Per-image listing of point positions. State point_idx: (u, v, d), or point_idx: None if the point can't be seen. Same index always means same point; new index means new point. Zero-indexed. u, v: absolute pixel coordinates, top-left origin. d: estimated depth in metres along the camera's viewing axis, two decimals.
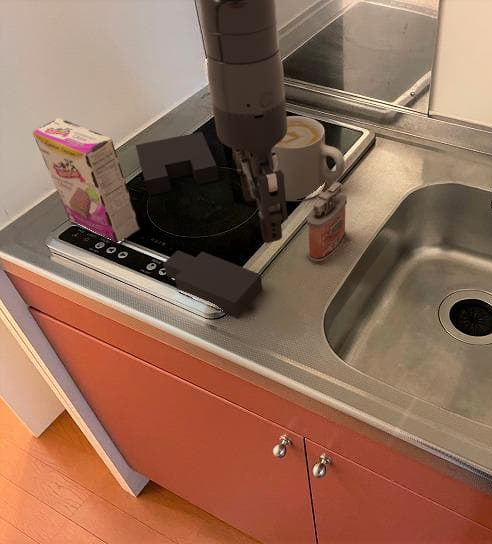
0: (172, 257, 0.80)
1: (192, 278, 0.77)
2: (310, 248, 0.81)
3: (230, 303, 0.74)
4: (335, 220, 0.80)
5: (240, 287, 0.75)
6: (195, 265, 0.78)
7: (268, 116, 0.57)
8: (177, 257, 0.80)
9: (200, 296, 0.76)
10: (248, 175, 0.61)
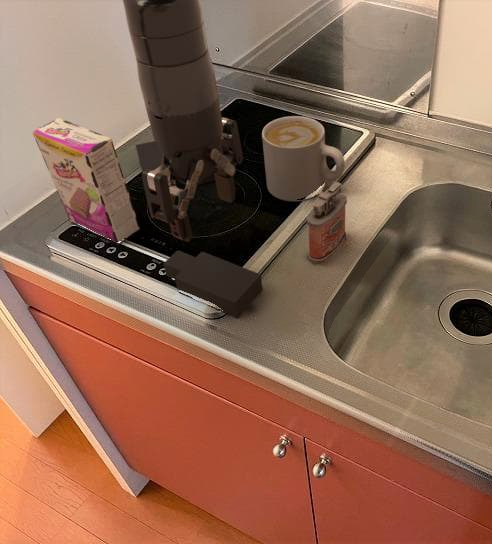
0: (172, 257, 0.80)
1: (192, 278, 0.77)
2: (310, 248, 0.81)
3: (230, 303, 0.74)
4: (335, 220, 0.80)
5: (240, 287, 0.75)
6: (195, 265, 0.78)
7: (167, 121, 0.57)
8: (177, 257, 0.80)
9: (200, 296, 0.76)
10: None
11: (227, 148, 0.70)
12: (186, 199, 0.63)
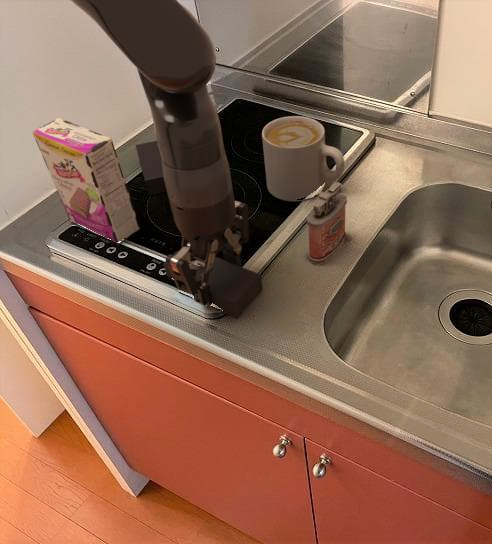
0: None
1: None
2: (310, 248, 0.81)
3: (230, 303, 0.74)
4: (335, 220, 0.80)
5: (240, 287, 0.75)
6: None
7: (188, 212, 0.65)
8: None
9: None
10: None
11: (235, 228, 0.78)
12: (206, 273, 0.72)
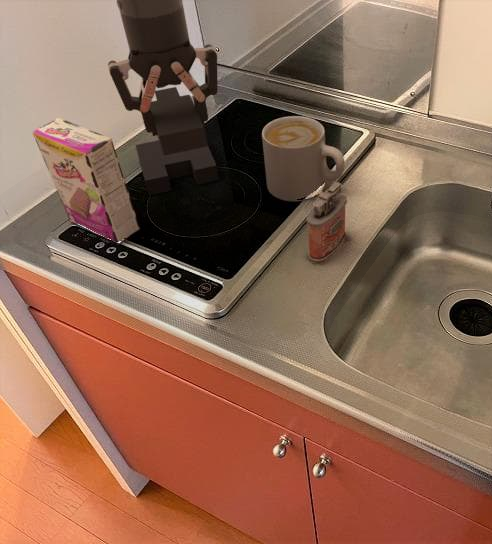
0: (165, 89, 0.84)
1: (157, 108, 0.80)
2: (310, 248, 0.81)
3: (158, 136, 0.75)
4: (335, 220, 0.80)
5: (178, 128, 0.76)
6: (171, 101, 0.81)
7: (123, 19, 0.68)
8: (169, 91, 0.84)
9: None
10: None
11: None
12: (146, 96, 0.74)
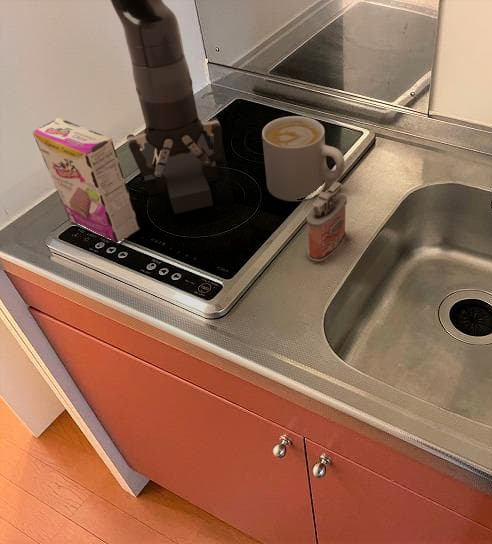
0: None
1: (168, 170, 0.91)
2: (310, 248, 0.81)
3: (170, 197, 0.86)
4: (335, 220, 0.80)
5: (187, 190, 0.87)
6: (181, 163, 0.92)
7: (141, 103, 0.79)
8: None
9: None
10: None
11: None
12: (160, 164, 0.85)
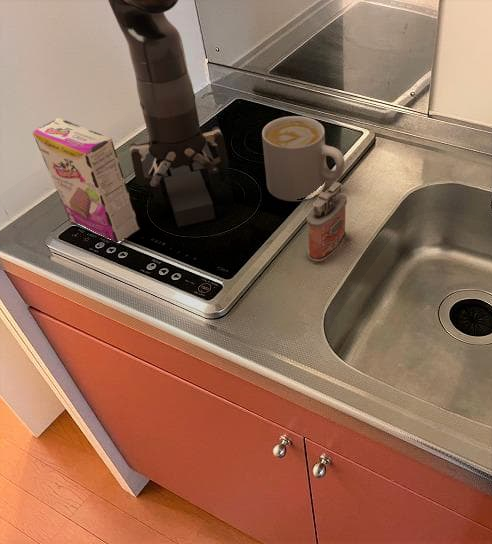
0: None
1: (171, 183, 0.93)
2: (310, 248, 0.81)
3: (173, 211, 0.88)
4: (335, 220, 0.80)
5: (190, 204, 0.88)
6: (184, 176, 0.94)
7: (145, 117, 0.80)
8: (181, 166, 0.96)
9: (169, 199, 0.92)
10: None
11: None
12: (158, 174, 0.86)
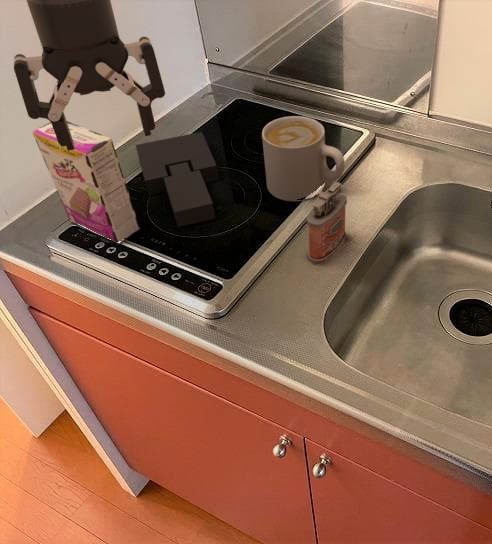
0: (177, 165, 0.97)
1: (171, 183, 0.93)
2: (310, 248, 0.81)
3: (173, 211, 0.88)
4: (335, 220, 0.80)
5: (190, 204, 0.88)
6: (184, 176, 0.94)
7: (29, 7, 0.54)
8: (181, 166, 0.96)
9: (169, 199, 0.92)
10: None
11: None
12: (59, 102, 0.60)
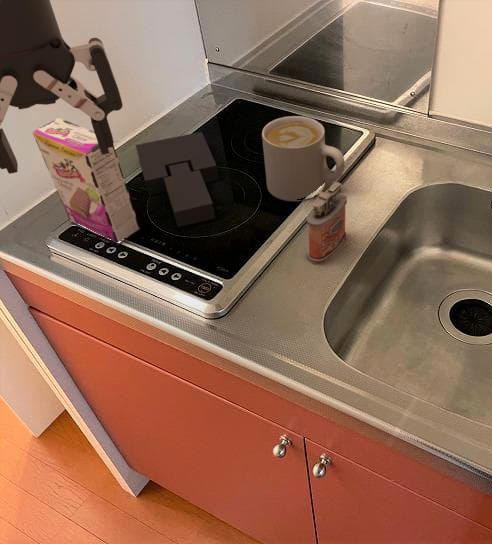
0: (177, 165, 0.97)
1: (171, 183, 0.93)
2: (310, 248, 0.81)
3: (173, 211, 0.88)
4: (335, 220, 0.80)
5: (190, 204, 0.88)
6: (184, 176, 0.94)
7: None
8: (181, 166, 0.96)
9: (169, 199, 0.92)
10: None
11: None
12: None
